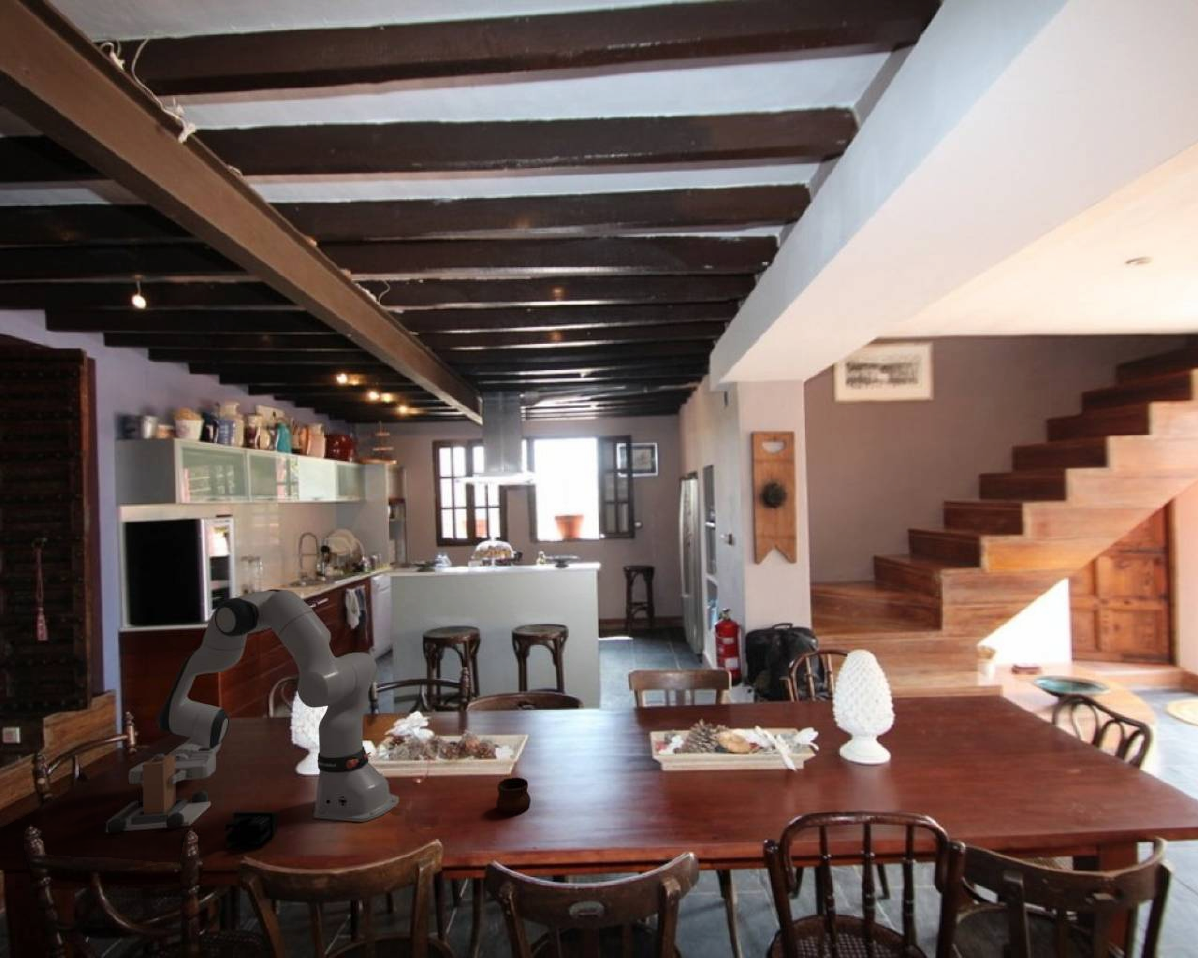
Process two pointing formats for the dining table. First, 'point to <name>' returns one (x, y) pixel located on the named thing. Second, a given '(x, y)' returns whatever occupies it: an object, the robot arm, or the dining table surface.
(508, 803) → the ceramic pot
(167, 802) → the tall wooden block
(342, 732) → the robot arm
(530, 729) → the dining table surface
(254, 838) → the end cap
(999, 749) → the dining table surface
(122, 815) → the chassis
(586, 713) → the dining table surface
